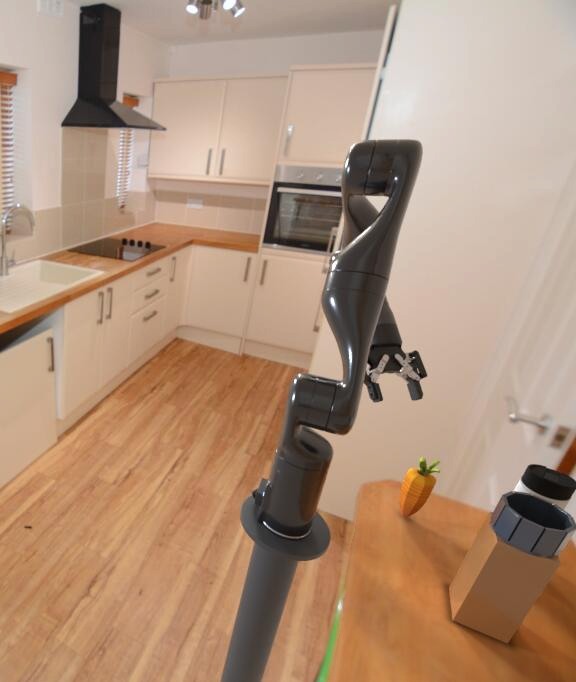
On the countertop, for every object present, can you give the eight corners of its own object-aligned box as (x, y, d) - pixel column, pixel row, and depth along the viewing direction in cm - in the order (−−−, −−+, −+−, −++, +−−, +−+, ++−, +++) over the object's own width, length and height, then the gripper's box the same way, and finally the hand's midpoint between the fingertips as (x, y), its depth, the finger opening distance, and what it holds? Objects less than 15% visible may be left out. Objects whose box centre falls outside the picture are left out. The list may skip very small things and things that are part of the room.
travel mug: (479, 555, 85) (525, 471, 77) (487, 536, 89) (532, 455, 80) (524, 578, 81) (578, 492, 72) (530, 557, 85) (582, 473, 76)
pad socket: (449, 621, 74) (508, 517, 64) (445, 584, 80) (498, 484, 70) (511, 648, 70) (584, 541, 60) (502, 607, 76) (567, 504, 66)
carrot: (416, 511, 95) (441, 454, 88) (421, 528, 91) (448, 470, 84) (388, 504, 97) (411, 447, 90) (392, 520, 93) (416, 462, 86)
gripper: (394, 333, 104) (416, 403, 98) (334, 335, 103) (353, 406, 98) (420, 320, 97) (445, 395, 91) (355, 322, 96) (377, 398, 91)
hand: (397, 400), depth 94 cm, fingers open, 8 cm apart
